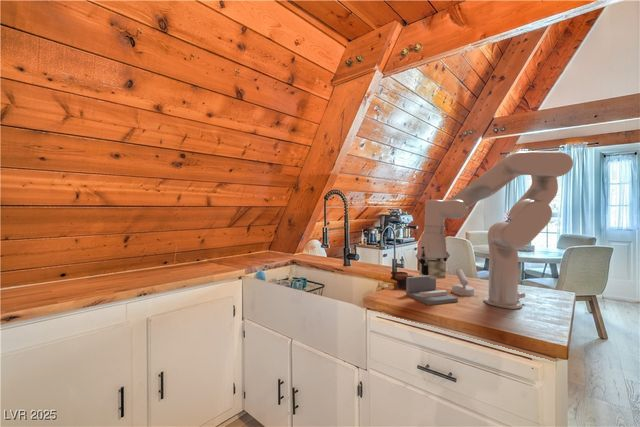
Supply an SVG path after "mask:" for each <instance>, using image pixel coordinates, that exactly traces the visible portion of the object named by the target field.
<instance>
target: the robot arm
mask: <svg viewBox="0 0 640 427" xmlns="http://www.w3.org/2000/svg"><path fill="white" fill-rule="evenodd" d="M573 166H574V160H573V158H572V157H571V156H570V155H569V154H567V153H566V152H562V151H532V150H529V151H528V150H527V151H526V150H525V151H518V152H514V153H511V154H509V155H507V156H506V157H503V159H501V160H500V161H498V162H497V163H495V164H494V165H492V167H491V168H489V169H487V171H485V172H484V173H483V174H481V175H480V176H479V177H477V178H476V179H475V180H473V181H472V182H470V183H469V184H468V185H466V186H465V187H464V188H463V189H460V191H458V192H457V193H455V194H454V195H453V196H452V197H450V198H449V199H448V200H442V199H428V200H426V201H425V204H424V224H423V225H424V226H423V228H424V229H423V233H421V238H420V240H419V241H420V242H419V249H418V252H417V253H416V254H415V258H416V259H417V260H418V262H419V265H420V264H422V270H421V272H422V274H423V275H424V276H428V266H427V264H428V261H429V259H436V260H440V261H444V262H446V263H447V260H448V258H449V257H450V256H451V255H450V253H449V252H448V251H447V240H446V239H447V238H446V234H445V231H446V230H447V228H446V227H445V219H446V218H448V219H455V220H460V219H462V218H465V217H466V216H467V214H468V212H469V208H470V207H471V206H473V205H474V204H475V203H477V202H479V201H483V200H484V199H487V198H489V197H491V196H494V195H495V194H496V193H498V192H499V191H500V190H502V189H503V188H504V187H505V186H507V185H509V184H510V183H511V182H512V181H513V180H515V179H517V178H518V177H520V176H525V175H526V176H530V177H531V185H530V187H529V188H528V189H527V190H526V192H525V193H524V194H523V195H522V196H521V197H520V198H519V199H518V200H517V201H516V202H515V204H513V206H511V208H510V210H509V214H508V216H509V218H510V221H509V222H507V221H499V222H495V223H494V224H492V225H491V226H490V227H489V229H488V232H487V244H488V295H487V296H485V297H483V302H485V304H487V305H490V306H493V307H497V308H501V309H514V310H517V309H521V308H523V303H522V302H521V301H520V300H521V299H523V298H524V299H525V297H526V294H525V292H518V291H519V290H518V289H519V288H518V286H519V284H518V282H519V252H518V250H522V249H524V248H525V247H527V246H528V245H529V244H530V243H531V242H533V240H534V239H535V238H536V237H537V236H539V234H540V233H541V232H542V230H544V229H545V228H546V226H547V225H548V224H549V223H550V222H551V219H552V215H553V211H552V210H553V209H552V207H551V206H550V204H552V203H551V202H553V201H554V199H555V198H556V196H557V194H558V192H559V191H558V190H559V183H558V177H562V176H565V175H567V174H568V173H569V172H570V171H571V170H572V168H573ZM425 259H426V260H425Z"/></svg>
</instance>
